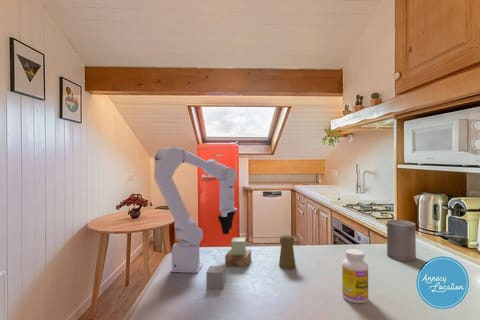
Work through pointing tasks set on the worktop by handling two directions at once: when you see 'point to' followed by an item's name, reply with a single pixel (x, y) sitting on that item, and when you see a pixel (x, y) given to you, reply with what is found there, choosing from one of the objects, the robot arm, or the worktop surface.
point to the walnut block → (238, 259)
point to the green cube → (238, 246)
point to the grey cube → (215, 277)
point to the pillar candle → (401, 240)
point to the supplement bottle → (355, 277)
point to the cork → (287, 252)
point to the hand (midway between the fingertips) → (227, 231)
